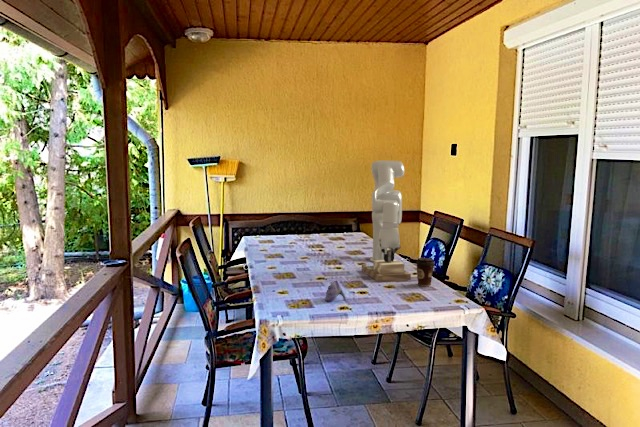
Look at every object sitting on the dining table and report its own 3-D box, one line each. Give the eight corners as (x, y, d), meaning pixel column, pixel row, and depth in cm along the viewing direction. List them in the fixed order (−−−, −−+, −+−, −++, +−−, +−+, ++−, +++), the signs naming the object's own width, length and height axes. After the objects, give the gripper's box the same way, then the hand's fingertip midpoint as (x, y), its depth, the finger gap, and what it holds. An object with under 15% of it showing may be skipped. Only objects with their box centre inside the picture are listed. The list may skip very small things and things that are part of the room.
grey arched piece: (349, 282, 213) (329, 274, 210) (351, 295, 206) (331, 286, 203) (338, 297, 217) (319, 289, 214) (340, 310, 209) (320, 302, 207)
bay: (361, 270, 266) (361, 264, 266) (390, 269, 270) (390, 263, 270) (378, 282, 241) (378, 275, 240) (410, 280, 245) (410, 274, 245)
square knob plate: (373, 273, 255) (373, 248, 254) (394, 272, 258) (395, 248, 257) (381, 278, 244) (382, 253, 242) (403, 277, 247) (404, 252, 245)
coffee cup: (419, 287, 231) (420, 261, 229) (412, 283, 239) (412, 257, 237) (436, 286, 233) (437, 260, 232) (428, 282, 241) (429, 256, 240)
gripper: (401, 224, 254) (400, 259, 256) (372, 225, 250) (371, 260, 252) (407, 226, 246) (406, 262, 249) (377, 227, 243) (376, 263, 245)
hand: (388, 260), depth 250 cm, fingers closed on square knob plate, 2 cm apart
